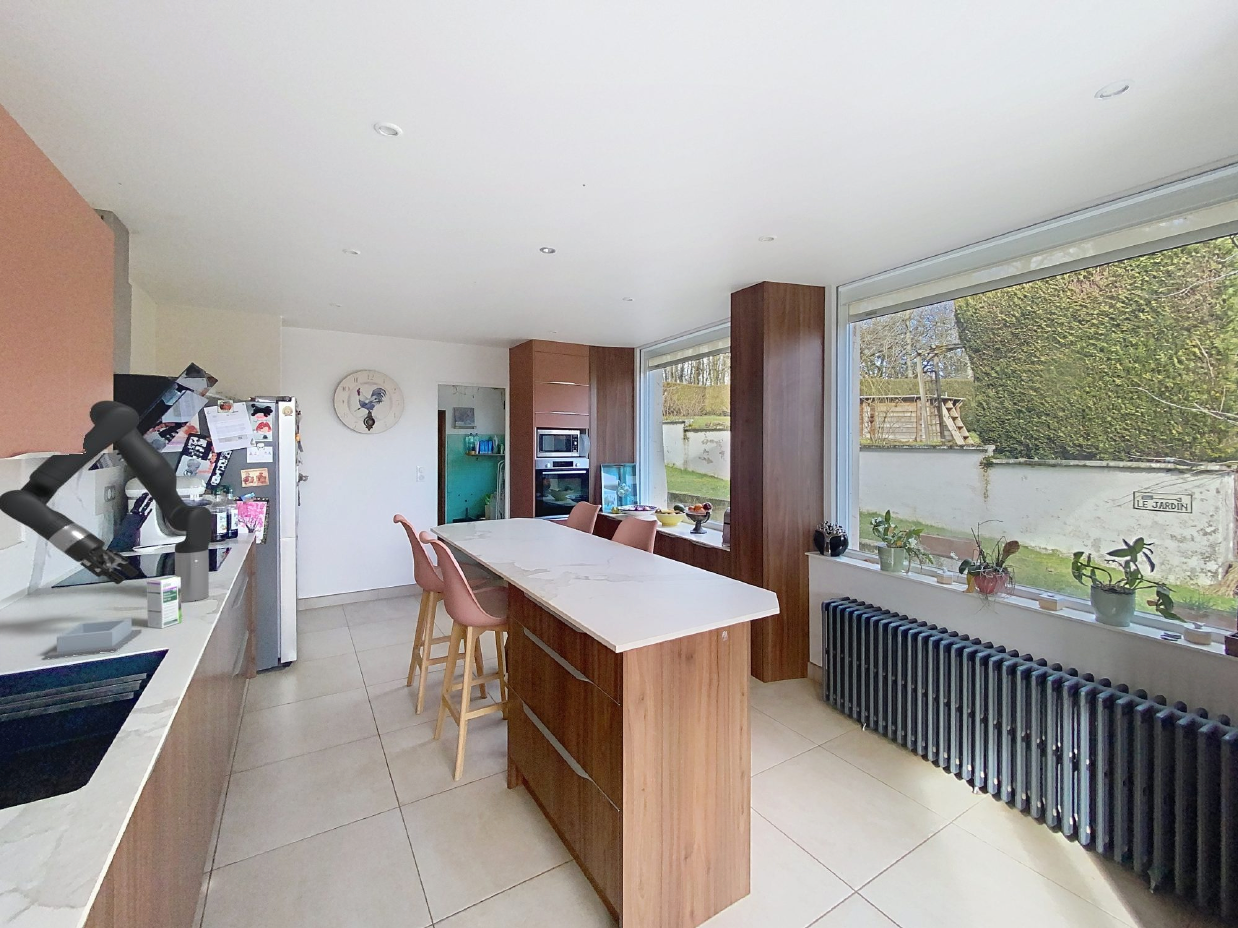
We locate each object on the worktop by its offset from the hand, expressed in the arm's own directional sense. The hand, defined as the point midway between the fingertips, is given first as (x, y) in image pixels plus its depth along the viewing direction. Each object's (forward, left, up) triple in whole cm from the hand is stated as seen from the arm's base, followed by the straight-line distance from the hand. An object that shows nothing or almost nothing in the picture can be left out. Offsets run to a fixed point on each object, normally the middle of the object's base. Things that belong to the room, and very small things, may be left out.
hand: (129, 578), depth 153 cm
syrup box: (+1, +8, -15) cm, 17 cm away
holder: (+13, -4, -15) cm, 20 cm away
